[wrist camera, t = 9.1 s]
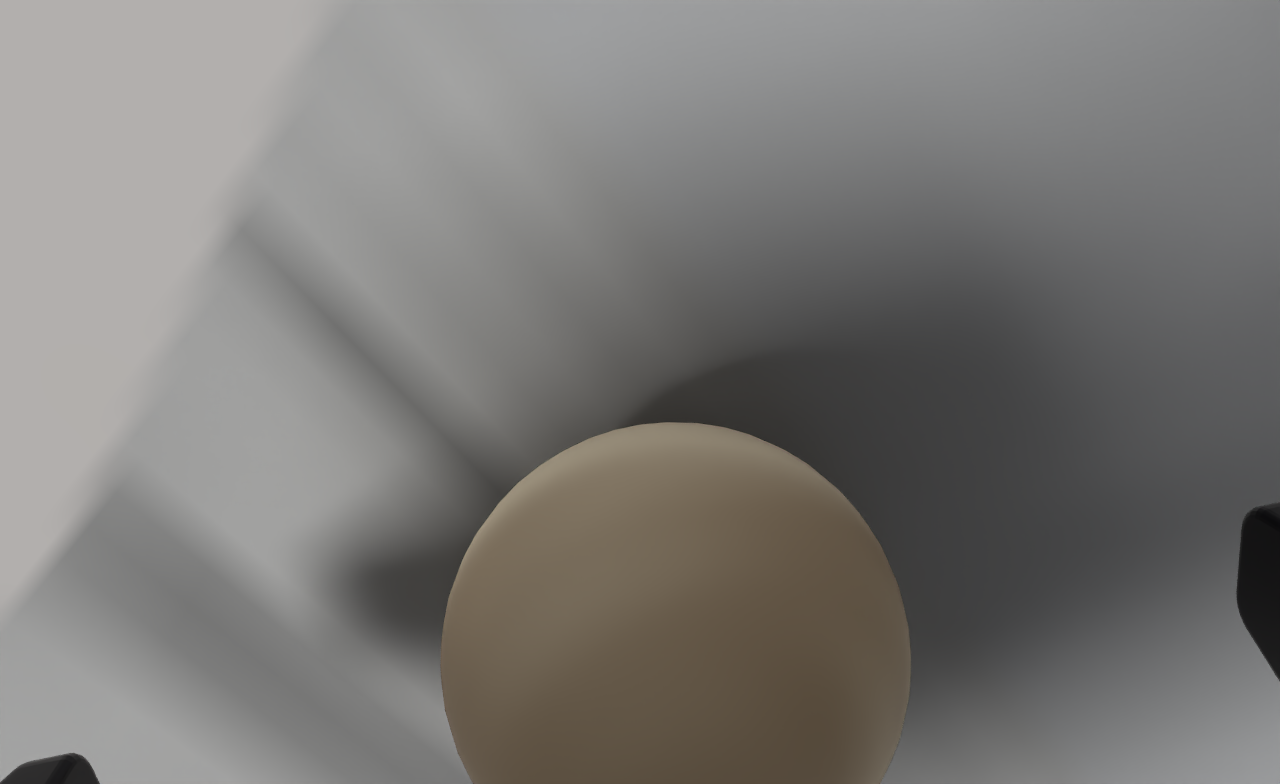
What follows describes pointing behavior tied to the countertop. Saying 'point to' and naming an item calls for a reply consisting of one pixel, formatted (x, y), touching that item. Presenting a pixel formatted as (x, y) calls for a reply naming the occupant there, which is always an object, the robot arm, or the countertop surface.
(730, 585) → the maple bead
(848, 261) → the countertop surface
